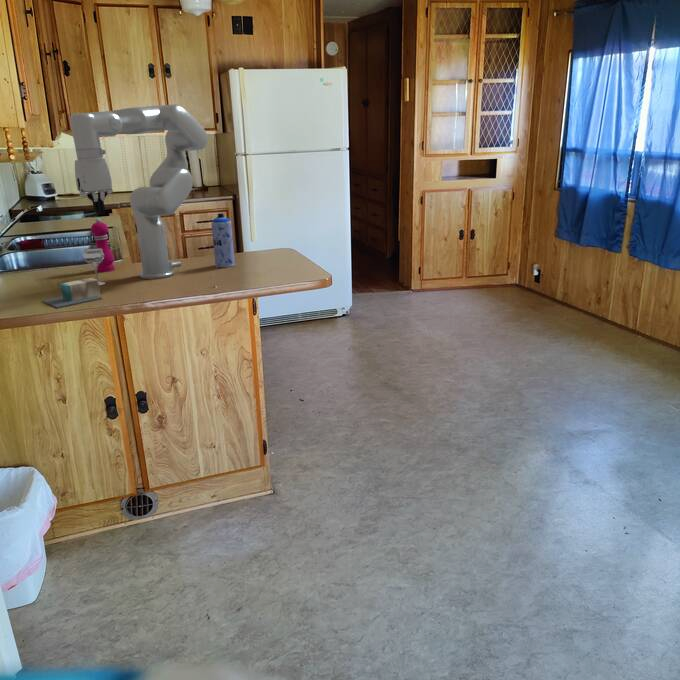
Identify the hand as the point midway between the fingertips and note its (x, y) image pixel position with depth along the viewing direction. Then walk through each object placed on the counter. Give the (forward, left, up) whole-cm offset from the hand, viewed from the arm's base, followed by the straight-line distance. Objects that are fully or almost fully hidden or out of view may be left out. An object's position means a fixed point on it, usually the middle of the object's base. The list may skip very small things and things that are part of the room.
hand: (100, 213), depth 198 cm
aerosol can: (-46, 0, -25) cm, 53 cm away
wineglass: (0, -11, -25) cm, 28 cm away
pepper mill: (-12, -31, -25) cm, 42 cm away
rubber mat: (+15, +5, -25) cm, 30 cm away
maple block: (+7, +5, -22) cm, 24 cm away
